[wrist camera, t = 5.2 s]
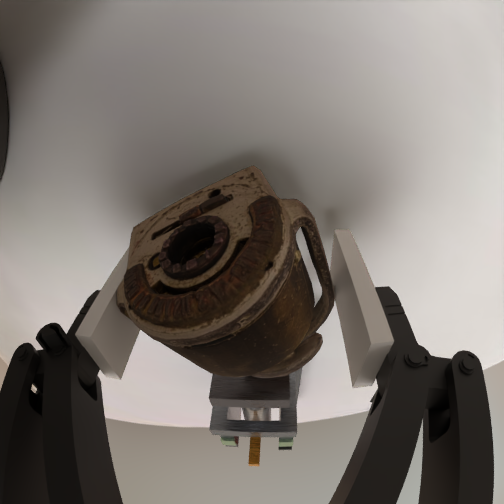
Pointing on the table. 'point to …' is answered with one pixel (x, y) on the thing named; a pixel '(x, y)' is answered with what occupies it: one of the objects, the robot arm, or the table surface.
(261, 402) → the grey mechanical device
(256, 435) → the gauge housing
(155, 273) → the brown drum with yoke
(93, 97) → the table surface
